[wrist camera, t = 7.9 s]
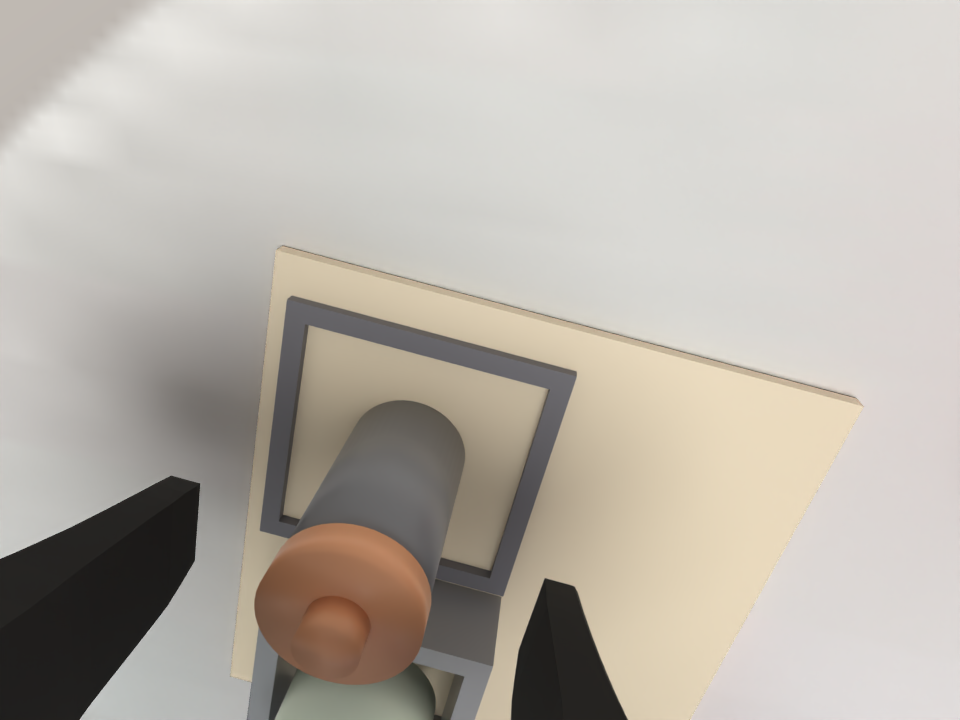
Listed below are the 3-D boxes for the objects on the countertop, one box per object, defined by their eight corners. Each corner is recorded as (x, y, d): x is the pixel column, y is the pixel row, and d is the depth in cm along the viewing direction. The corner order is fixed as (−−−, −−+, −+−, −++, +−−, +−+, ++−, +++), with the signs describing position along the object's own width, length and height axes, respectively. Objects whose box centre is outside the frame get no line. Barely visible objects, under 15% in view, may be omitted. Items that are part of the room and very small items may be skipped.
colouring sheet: (648, 779, 22) (651, 800, 21) (235, 666, 22) (225, 684, 21) (857, 398, 16) (869, 412, 15) (282, 246, 16) (270, 253, 15)
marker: (452, 514, 18) (396, 736, 12) (341, 484, 18) (230, 691, 12) (479, 417, 16) (432, 611, 11) (359, 384, 16) (243, 560, 11)
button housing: (455, 733, 21) (443, 809, 19) (275, 684, 21) (242, 754, 19) (501, 596, 19) (493, 666, 16) (296, 541, 19) (262, 603, 17)
